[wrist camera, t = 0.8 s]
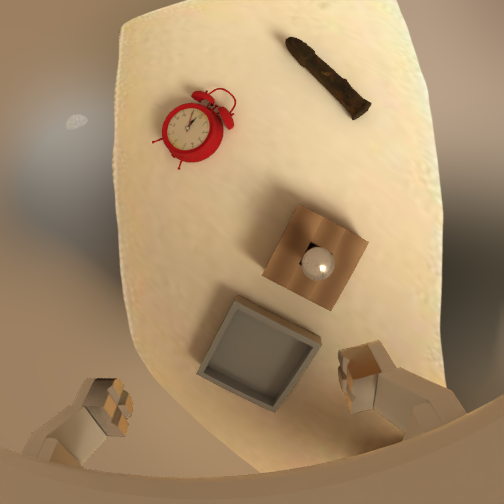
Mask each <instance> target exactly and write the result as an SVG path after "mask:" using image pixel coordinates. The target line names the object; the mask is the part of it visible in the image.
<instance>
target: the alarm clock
mask: <svg viewBox="0 0 504 504" xmlns="http://www.w3.org/2000/svg"><path fill="white" fill-rule="evenodd" d="M219 89H221V90H224V91H226V92H228V93H229V94H230V95H231V96H232V97H233V99H234V101H235V104H234V106H233V108H232V110H231V111H230V113H229V111H228V110H227V109H226V108H224V107H219V108H218V111H219V113H220V115H221V117H222V119H223V121H224V123H225V125H226V126H227V128H228V129H229V130H230V129H232V128H233V127H234V122H233V119H232V115H234V113H233V114H231V112H232V111H233V109H234V108H235V106H236V99H235V97H234V96H233V95H232V94H231V93H230V92H229V91H227V90H226V89H223V88H217V89H215V90H213V91H212V92H214V91H216V90H219ZM207 92H208V91H206V92H202V91H195V92H193V94H192V95H191V97H192V98H193V99H195V100H196V101H198V102H200V103H201V101H202V100H204V99H206V100H208V101H210V102H211V105H210V106H213V105H214V102H215V101H214V98H213V97H212V96H211V95H210V94H211V93H212V92H210V93H209V94H207ZM210 102H209V103H210ZM208 106H209V104H208ZM208 106H207V107H205V106H203V105H200V104H195V103H188V104H183V105H180V106H178V107H177V108H175V109H174V110H173V111H171V112H170V113H169V115H168V116H167V117H166V119H165V121H164V124H163V128H162V137H163V138H160V139H158V140H156V141H152V143H154V142H157V141H160V140H163V141H164V143H165V145H166V147H167V148H168V149H169V151H170V152H171V153H172V154H171V155H172V156H173V157H174V158H175V157H176V158H177V159H179V160H181V161H180V164H179V167H178V169H179V170H180V166H181V163H182V161H185V162H199V161H202V160H204V159H206V158H208V157H209V156H211V155H212V154H213V153H214V152H215V151H216V150H217V148H218V147H219V145H220V143H221V141H222V137H223V125H222V122H221V119H220V117H219V116H218V115H217V114H218V113H217V114H216V113H215V112H214V111H213V110H214V109H215V108H216V107H218V105H215V107H214V108H213V109H210V108H208Z"/></svg>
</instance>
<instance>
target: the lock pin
mask: <svg viewBox="0 0 504 504" xmlns="http://www.w3.org/2000/svg"><path fill="white" fill-rule="evenodd" d="M334 264H335V263H334V258H333V256H332V254H331V253H330V252H329V251H328V250H327V249H325V248H322V247H317V246H312V247H310V248H308V249H307V251H306V253H305V254H304V256H303V258H302V269H303V272H304V273H305V275H306V276H307V277H309V278H310V279H312V280H323V279H326V278H327V277H329V276H330V275H331V273H332V272H333V270H334Z"/></svg>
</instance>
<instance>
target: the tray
mask: <svg viewBox="0 0 504 504" xmlns="http://www.w3.org/2000/svg"><path fill="white" fill-rule="evenodd" d="M321 345H322V344H321V339H320V337H319V336H317V335H315V334H313V333H311V332H309V331H307V330H305V329H303V328H301V327H299V326H297V325H295V324H293V323H291V322H289V321H287V320H285V319H283V318H281V317H280V316H278V315H276V314H274V313H272V312H270V311H268V310H266V309H264V308H262V307H260V306H258V305H256V304H254V303H253V302H251V301H249V300H247V299H245V298H243V297H241V296H239V295H238V296H237V298H236V299H235V300H234V302H233V304H232V306H231V308H230V310H229V312H228V314H227V316H226V318H225V320H224V322H223V324H222V325H221V327H220V329H219V331H218V333H217V335H216V337H215V339H214V341H213V343H212V345H211V347H210V349H209V350H208V352H207V354H206V356H205V358H204V360H203V362H202V364H201V366H200V368H199V370H198V372H197V374H198V375H199V376H201V377H203V378H205V379H207V380H209V381H211V382H212V383H214V384H216V385H218V386H220V387H222V388H224V389H226V390H228V391H230V392H232V393H234V394H236V395H238V396H240V397H242V398H244V399H246V400H248V401H251V402H253V403H255V404H257V405H259V406H261V407H263V408H266V409H268V410H270V411H272V412H276V411H277V409H278V408H279V407H280V405H281V404H282V403H283V401H284V400H285V398H286V397H287V396H288V394H289V393H290V391H291V390H292V388H293V387H294V386H295V384H296V383H297V381H298V380H299V378H300V377H301V375H302V374H303V372H304V371H305V370H306V368H307V367H308V365H309V364H310V362H311V360H312V359H313V357H314V356H315V354H316V353H317V351H318V350H319V348H320V347H321Z"/></svg>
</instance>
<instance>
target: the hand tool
mask: <svg viewBox="0 0 504 504" xmlns="http://www.w3.org/2000/svg"><path fill="white" fill-rule="evenodd" d="M285 43H286V46H287V48H288V50H289V51H290V53H291V54H292V55H293V57H294V58H295V59H296V60H297V61H298V62H299V64H300V65H301V66H303V67H306V68H307V69H308V70H309V71H310V72H311V73H312V74H313V75H314V76H315V77H316V78H317V79H318V80H319V81H320V83H321V84H323V85H324V86H325V87H326V88H327V89H328V90H329V91H330V92H331V93H332V95H333V96H334V97H335V98H336V99H337V100H338V101H339V102H340V103H341V104H343V105H344V107H345V108H346V109H347V110H348V111H349V112H350V113H351V115H352V120H355V119H357V118H359V117H360V116H362V115H363V114H364V113H365V112H367V111H368V109H369V107H370V106H371V103H370V102H369V101H367V100H365V99H363V98H362V97H361V96H360V95H359V94H358V93H357V92H356V91H355V90H354V89H353V88H352V87H351V86H350V84H349V83H348V82H347V80H346V79H343V78H342V77H341V76H339V75H338V74H337V73H336V72H335V71H334V70H333V69H332V68H331V67H330V66H329V65H327V64H326V63H325V62H324V61H323V60H322V59H320V58H319V57H318V56H317V55H316V54H315V51H314V50H313V49H312V48H311V47H309V46H308V45H307V44H306V43H304V42H303V41H301V40H300V39H297V38H295V37H289V38H287V39H286V42H285Z"/></svg>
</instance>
